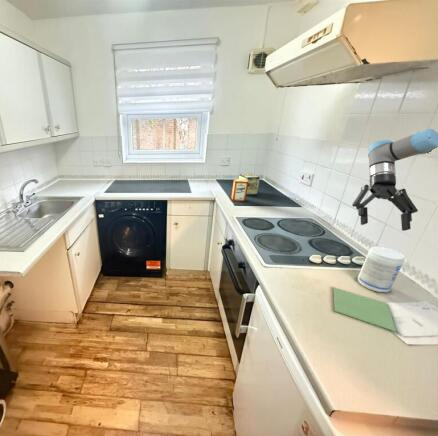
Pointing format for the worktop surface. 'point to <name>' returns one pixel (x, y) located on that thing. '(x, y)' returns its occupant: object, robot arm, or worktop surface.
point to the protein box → (251, 183)
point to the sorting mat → (363, 309)
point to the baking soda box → (239, 190)
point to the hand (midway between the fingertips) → (384, 226)
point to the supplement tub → (380, 269)
